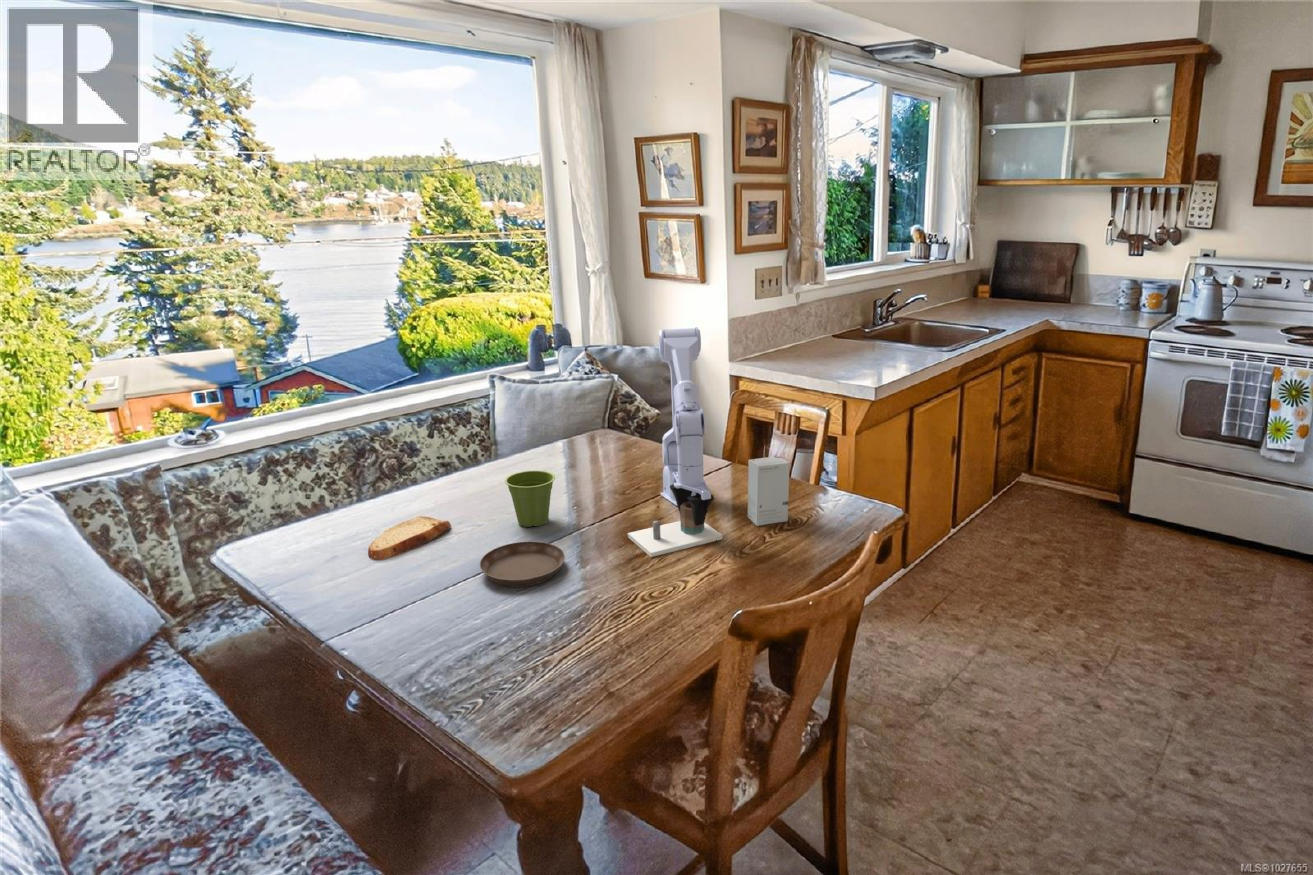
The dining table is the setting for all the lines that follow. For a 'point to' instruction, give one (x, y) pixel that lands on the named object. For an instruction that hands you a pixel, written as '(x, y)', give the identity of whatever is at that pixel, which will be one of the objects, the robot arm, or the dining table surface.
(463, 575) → the dining table surface
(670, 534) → the pin board
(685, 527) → the sleeve
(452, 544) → the dining table surface
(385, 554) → the bread slice
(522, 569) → the plant saucer
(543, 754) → the dining table surface
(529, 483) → the plant pot
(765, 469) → the skincare box
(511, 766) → the dining table surface
